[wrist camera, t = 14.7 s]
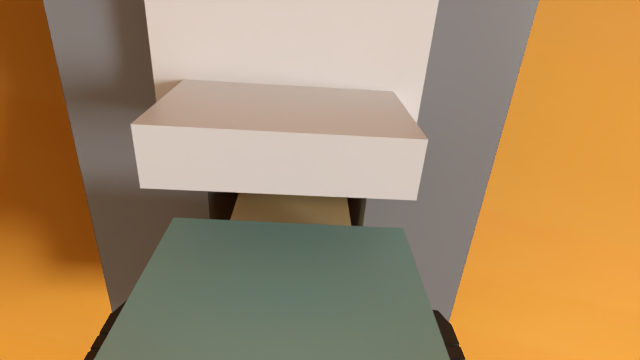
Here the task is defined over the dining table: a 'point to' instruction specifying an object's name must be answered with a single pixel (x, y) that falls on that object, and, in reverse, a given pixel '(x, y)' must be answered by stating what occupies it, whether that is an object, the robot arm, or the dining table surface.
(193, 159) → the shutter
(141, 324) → the plug
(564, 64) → the dining table surface
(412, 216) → the socket
